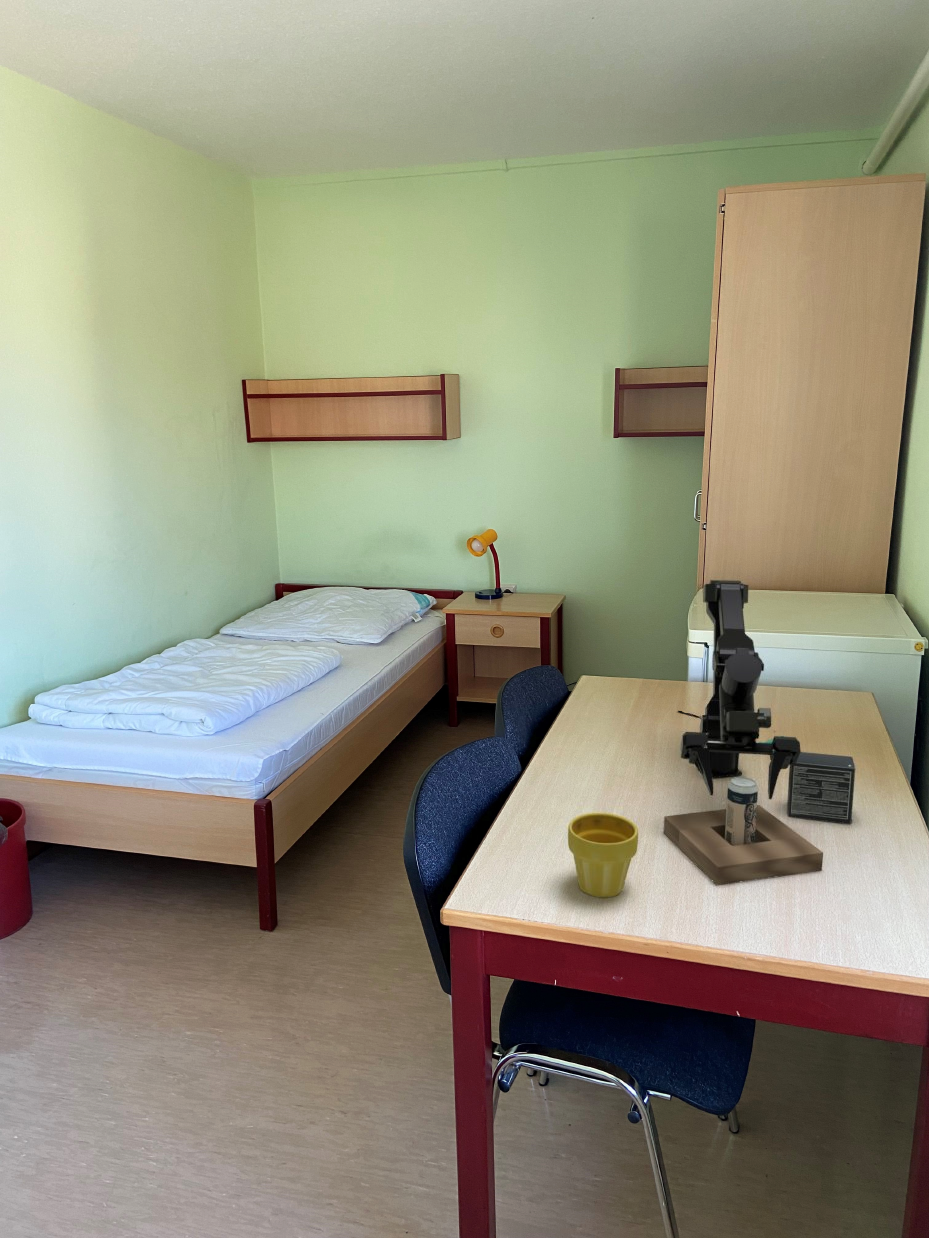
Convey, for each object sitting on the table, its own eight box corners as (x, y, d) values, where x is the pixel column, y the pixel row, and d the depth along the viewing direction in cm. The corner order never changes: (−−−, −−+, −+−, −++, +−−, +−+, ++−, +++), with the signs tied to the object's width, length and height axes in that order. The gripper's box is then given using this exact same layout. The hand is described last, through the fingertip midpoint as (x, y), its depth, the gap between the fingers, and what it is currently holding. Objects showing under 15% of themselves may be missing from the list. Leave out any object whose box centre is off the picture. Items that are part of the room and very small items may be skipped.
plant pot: (644, 903, 126) (647, 841, 124) (574, 906, 125) (575, 844, 123) (626, 868, 136) (628, 810, 134) (561, 871, 136) (562, 813, 133)
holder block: (758, 820, 152) (759, 804, 151) (821, 870, 135) (823, 852, 134) (663, 832, 148) (664, 816, 147) (717, 885, 131) (718, 866, 130)
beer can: (753, 859, 139) (758, 789, 136) (722, 854, 140) (726, 785, 138) (755, 846, 143) (759, 778, 140) (725, 841, 145) (729, 774, 142)
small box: (848, 809, 156) (853, 755, 154) (852, 825, 150) (857, 768, 148) (786, 802, 159) (790, 748, 157) (787, 817, 153) (791, 761, 151)
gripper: (684, 686, 144) (685, 774, 136) (802, 691, 141) (811, 781, 132) (680, 715, 153) (680, 799, 145) (791, 720, 150) (797, 807, 142)
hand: (741, 796), depth 141 cm, fingers open, 9 cm apart
